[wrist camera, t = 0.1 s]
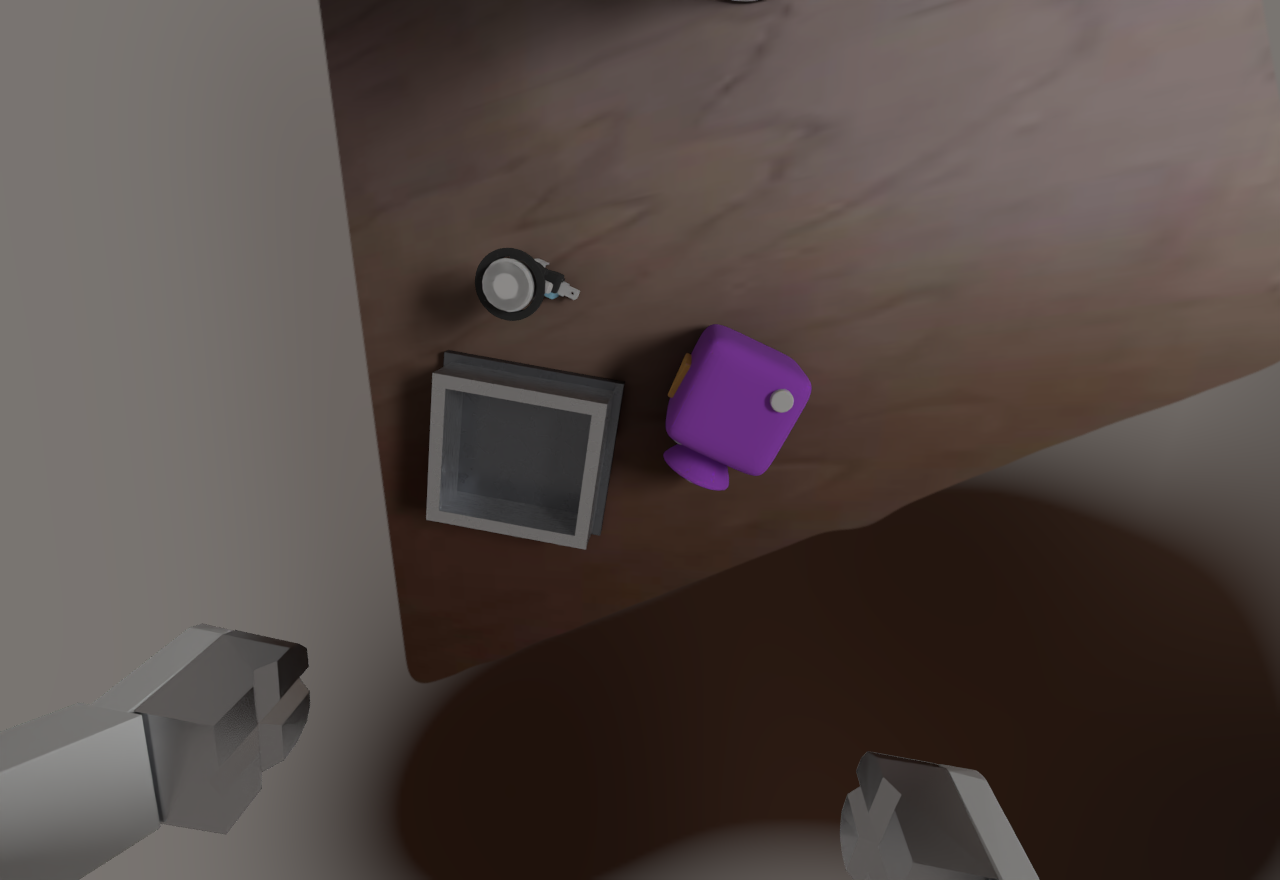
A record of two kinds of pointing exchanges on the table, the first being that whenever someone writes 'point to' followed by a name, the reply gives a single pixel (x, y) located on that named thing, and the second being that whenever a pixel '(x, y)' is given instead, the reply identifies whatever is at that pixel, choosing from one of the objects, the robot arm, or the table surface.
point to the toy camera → (731, 407)
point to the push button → (517, 284)
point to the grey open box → (521, 448)
